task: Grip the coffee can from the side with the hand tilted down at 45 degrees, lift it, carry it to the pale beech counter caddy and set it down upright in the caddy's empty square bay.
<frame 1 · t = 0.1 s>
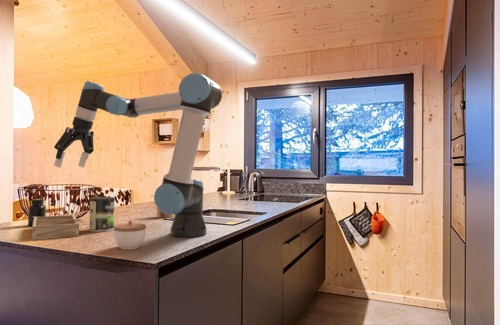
hand: (69, 166, 151), 28 cm above the counter, tool tilted 20°, fingers open, 13 cm apart
lidded jar: (129, 248, 126), on the counter
coffee can: (101, 230, 158), on the counter
caddy: (55, 232, 151), on the counter
supplement bottle: (36, 225, 166), on the counter
candy box: (165, 217, 198), on the counter
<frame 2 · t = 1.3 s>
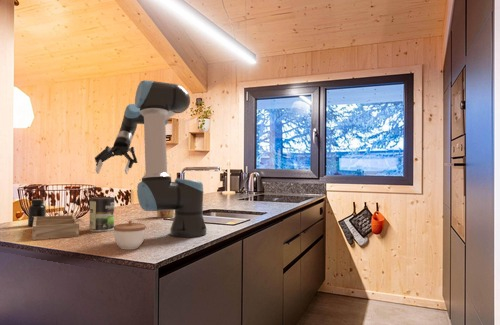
hand: (111, 172, 169), 25 cm above the counter, tool tilted 45°, fingers open, 13 cm apart
nothing on the counter moved.
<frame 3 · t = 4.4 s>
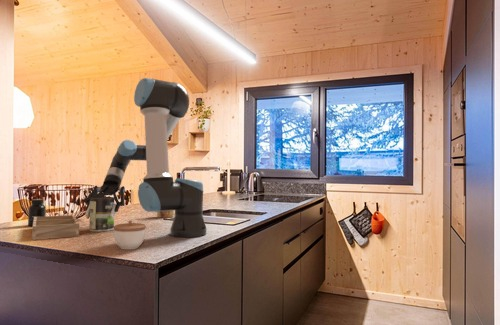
hand: (99, 217, 155), 6 cm above the counter, tool tilted 45°, fingers closed on coffee can, 10 cm apart
coffee can: (101, 230, 158), on the counter, touching gripper
everything else where it was.
when the fingers open (8 cm above the counter, at t = 9.5 s): coffee can drops 1 cm, resting on caddy.
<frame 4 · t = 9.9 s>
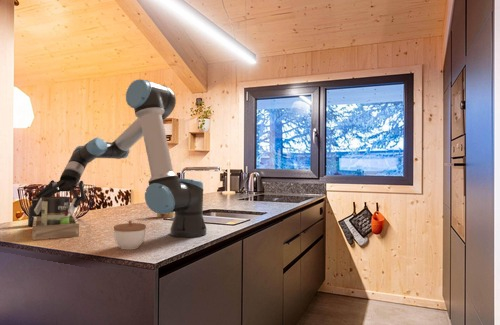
hand: (53, 212, 144), 9 cm above the counter, tool tilted 45°, fingers open, 13 cm apart
coffee can: (55, 232, 146), point 1 cm above the counter, touching caddy
everything else where it was.
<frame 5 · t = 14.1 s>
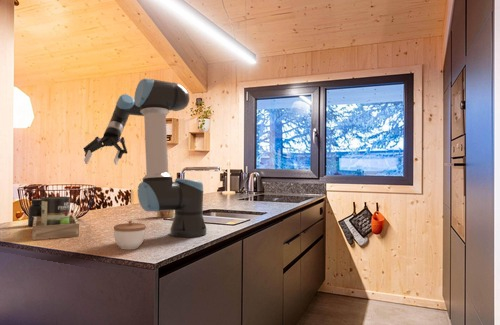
hand: (100, 162, 164), 30 cm above the counter, tool tilted 45°, fingers open, 13 cm apart
nothing on the counter moved.
at the end: coffee can inside the target area (0.1 cm from its centre), point 0.8 cm above the counter; coffee can tilted 0°; the gripper is holding nothing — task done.
